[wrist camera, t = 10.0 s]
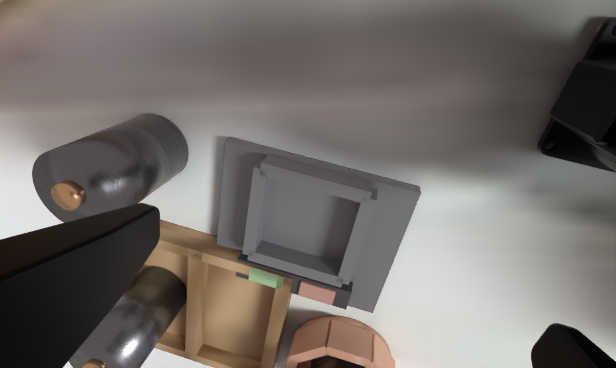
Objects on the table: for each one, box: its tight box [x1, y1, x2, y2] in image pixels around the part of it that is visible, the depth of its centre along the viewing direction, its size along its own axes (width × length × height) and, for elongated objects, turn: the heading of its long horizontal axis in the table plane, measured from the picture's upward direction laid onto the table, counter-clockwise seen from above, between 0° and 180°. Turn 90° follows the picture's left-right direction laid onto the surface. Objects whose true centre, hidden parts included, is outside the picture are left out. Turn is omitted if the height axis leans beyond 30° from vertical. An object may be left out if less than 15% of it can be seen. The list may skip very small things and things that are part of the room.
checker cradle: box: [217, 137, 421, 313], centre depth 22 cm, size 12×10×2 cm
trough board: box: [136, 220, 293, 368], centre depth 27 cm, size 14×12×2 cm
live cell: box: [69, 266, 187, 368], centre depth 24 cm, size 4×4×8 cm
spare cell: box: [32, 114, 188, 223], centre depth 19 cm, size 4×4×8 cm
